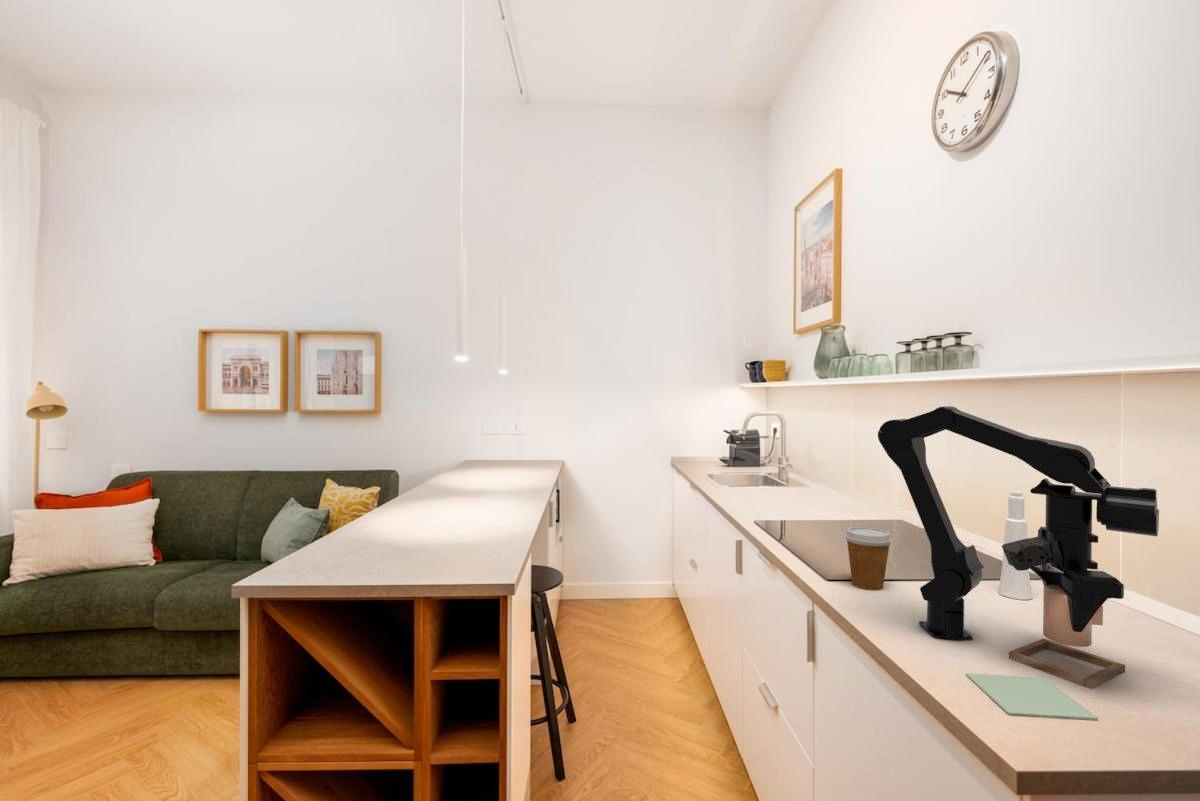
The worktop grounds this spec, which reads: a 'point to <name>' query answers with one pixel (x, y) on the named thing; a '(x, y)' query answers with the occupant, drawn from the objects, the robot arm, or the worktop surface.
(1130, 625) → the worktop surface
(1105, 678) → the walnut collar
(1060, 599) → the peach round cylinder
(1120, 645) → the worktop surface
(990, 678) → the sage mat
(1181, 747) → the worktop surface
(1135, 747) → the worktop surface
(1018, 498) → the cosmetic bottle
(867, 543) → the disposable coffee cup
